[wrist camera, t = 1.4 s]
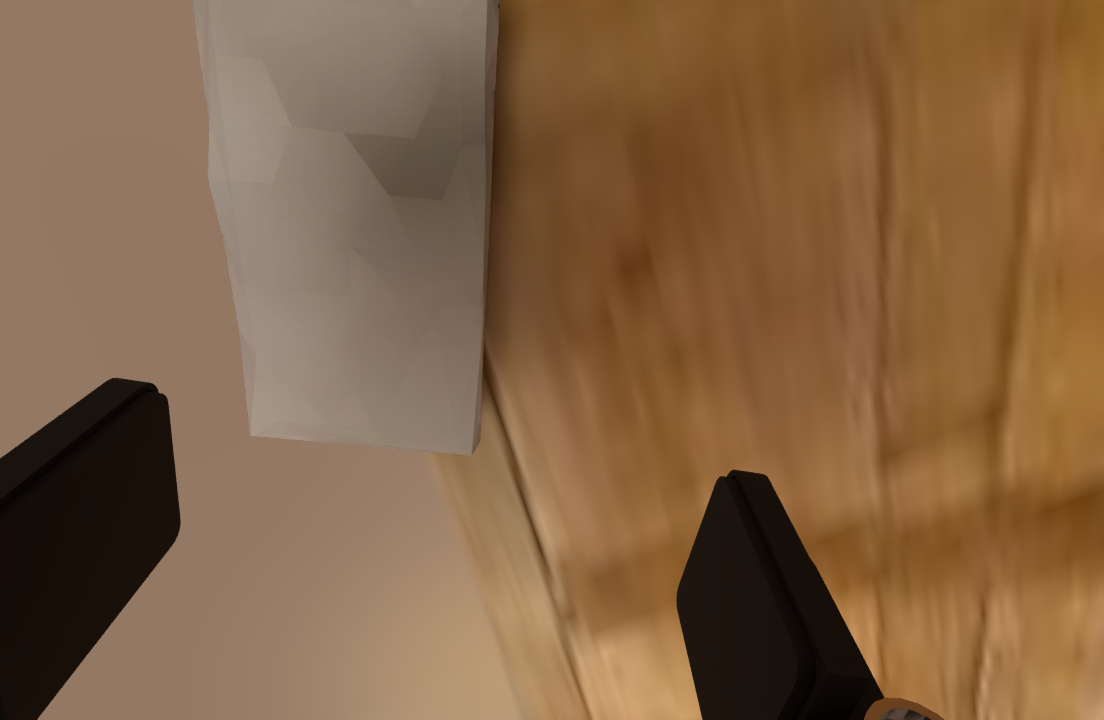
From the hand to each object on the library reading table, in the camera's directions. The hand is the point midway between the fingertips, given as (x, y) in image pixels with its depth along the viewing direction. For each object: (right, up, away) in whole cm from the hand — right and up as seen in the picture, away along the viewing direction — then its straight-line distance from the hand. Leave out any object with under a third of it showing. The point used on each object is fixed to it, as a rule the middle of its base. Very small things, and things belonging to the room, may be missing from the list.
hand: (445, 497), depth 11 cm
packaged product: (0, +7, +14) cm, 16 cm away
